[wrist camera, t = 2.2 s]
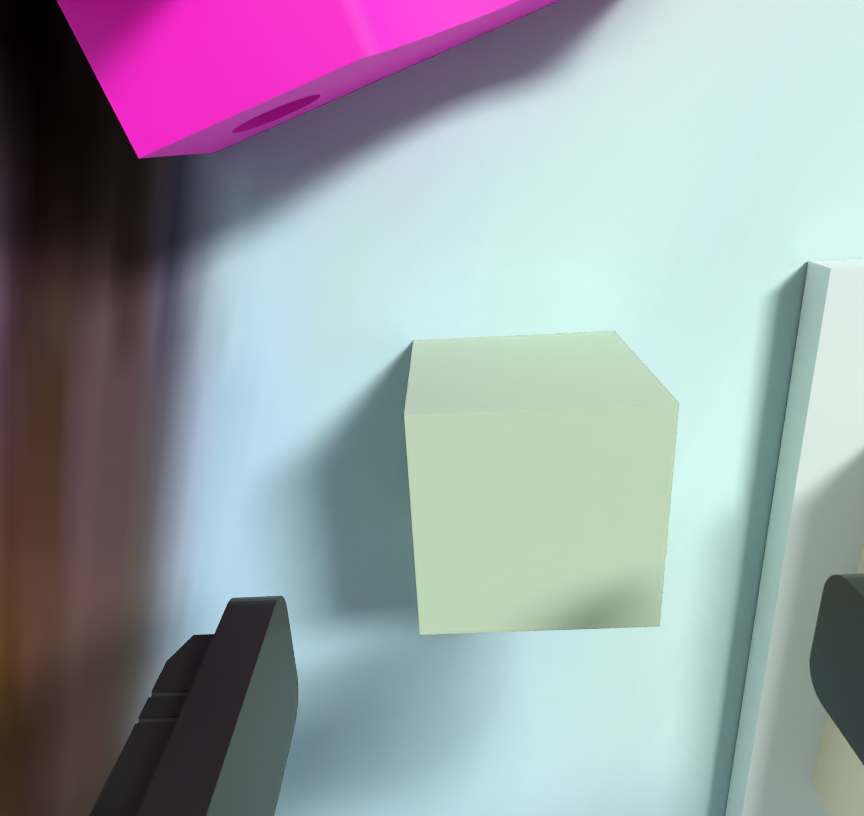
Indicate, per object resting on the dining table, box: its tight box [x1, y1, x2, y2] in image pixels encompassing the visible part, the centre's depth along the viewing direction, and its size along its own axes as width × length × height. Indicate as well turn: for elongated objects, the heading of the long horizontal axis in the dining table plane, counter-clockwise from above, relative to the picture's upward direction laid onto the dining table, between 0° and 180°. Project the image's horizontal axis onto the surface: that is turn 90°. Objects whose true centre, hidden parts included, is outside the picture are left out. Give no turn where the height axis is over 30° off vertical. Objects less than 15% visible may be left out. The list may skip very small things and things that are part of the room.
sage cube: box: [404, 331, 679, 635], centre depth 16 cm, size 5×5×5 cm
